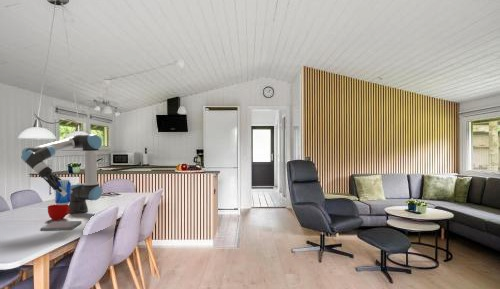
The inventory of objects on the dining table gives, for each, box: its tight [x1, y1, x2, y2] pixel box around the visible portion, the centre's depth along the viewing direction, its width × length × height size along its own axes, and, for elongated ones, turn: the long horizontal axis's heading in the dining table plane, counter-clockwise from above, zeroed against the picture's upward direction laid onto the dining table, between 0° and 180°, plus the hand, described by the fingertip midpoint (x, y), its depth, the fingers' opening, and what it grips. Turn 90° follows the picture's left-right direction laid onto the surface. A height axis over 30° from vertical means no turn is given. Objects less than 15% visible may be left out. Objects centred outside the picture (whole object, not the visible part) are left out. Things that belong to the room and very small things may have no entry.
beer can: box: [54, 179, 71, 205], centre depth 198 cm, size 8×8×16 cm
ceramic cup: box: [47, 204, 71, 221], centre depth 218 cm, size 13×17×10 cm
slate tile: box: [40, 220, 83, 231], centre depth 198 cm, size 18×18×2 cm
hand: (68, 194), depth 199 cm, fingers closed on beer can, 8 cm apart
